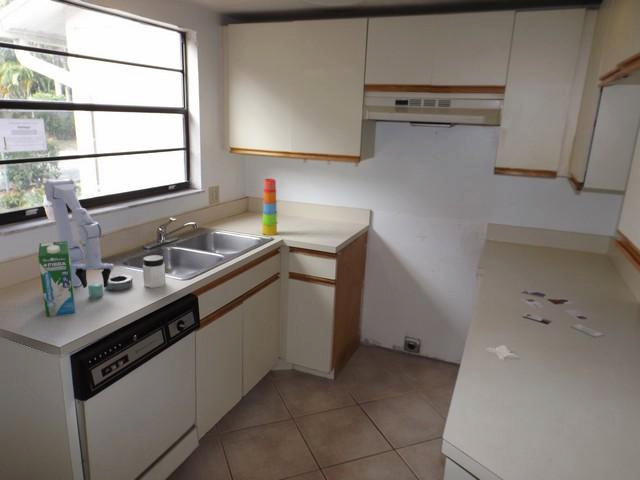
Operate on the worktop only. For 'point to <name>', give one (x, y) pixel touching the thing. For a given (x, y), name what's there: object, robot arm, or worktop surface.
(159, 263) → the jar
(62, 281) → the milk carton
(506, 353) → the acanthus leaf ornament
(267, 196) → the stacking cups
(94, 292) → the mint green cube
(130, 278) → the barrel ring
